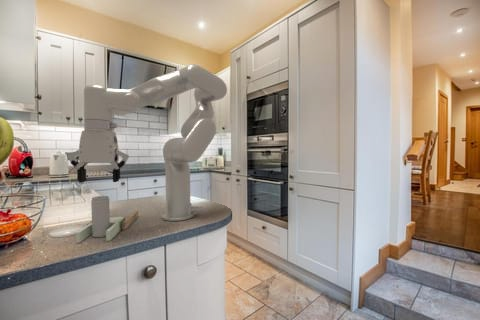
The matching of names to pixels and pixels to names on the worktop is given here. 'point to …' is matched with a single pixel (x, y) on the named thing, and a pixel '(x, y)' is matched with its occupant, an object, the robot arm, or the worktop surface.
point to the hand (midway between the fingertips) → (99, 181)
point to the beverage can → (100, 215)
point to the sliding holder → (110, 233)
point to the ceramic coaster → (65, 231)
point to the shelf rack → (128, 220)
